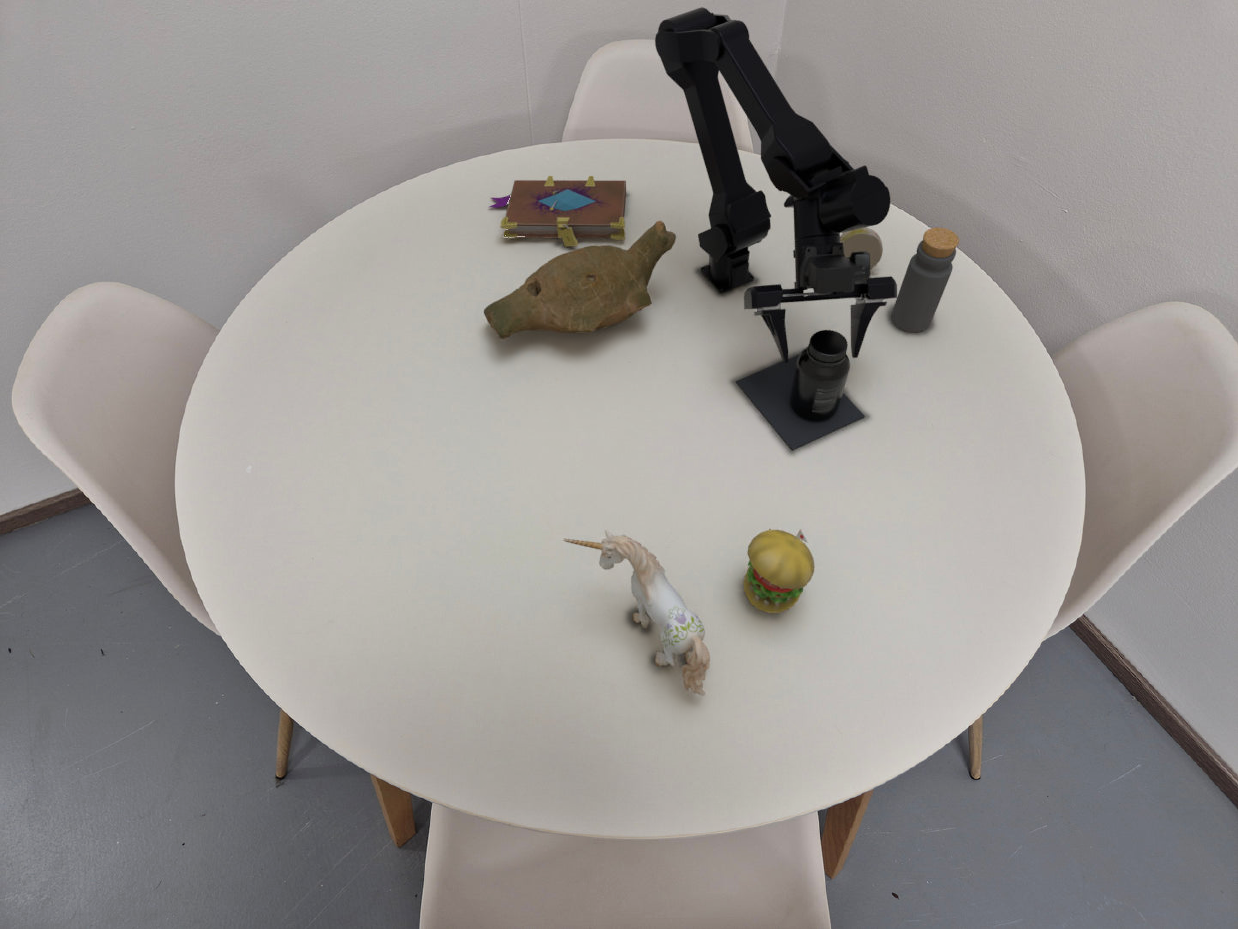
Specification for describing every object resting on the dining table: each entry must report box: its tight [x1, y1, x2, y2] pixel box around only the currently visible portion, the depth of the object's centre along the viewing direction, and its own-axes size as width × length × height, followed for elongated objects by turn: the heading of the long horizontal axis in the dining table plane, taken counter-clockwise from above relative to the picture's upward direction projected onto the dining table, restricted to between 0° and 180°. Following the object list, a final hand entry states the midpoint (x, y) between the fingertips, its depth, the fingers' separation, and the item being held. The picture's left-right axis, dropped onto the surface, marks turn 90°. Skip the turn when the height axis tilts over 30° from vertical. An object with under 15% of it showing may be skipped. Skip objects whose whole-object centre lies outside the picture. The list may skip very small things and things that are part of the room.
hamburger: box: [742, 528, 815, 614], centre depth 86 cm, size 8×7×12 cm
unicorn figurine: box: [562, 529, 711, 697], centre depth 83 cm, size 7×20×13 cm, turn 46°
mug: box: [840, 227, 884, 271], centre depth 122 cm, size 8×10×10 cm
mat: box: [735, 353, 865, 451], centre depth 107 cm, size 14×12×1 cm
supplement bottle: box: [790, 329, 851, 421], centre depth 102 cm, size 7×7×12 cm
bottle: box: [891, 227, 960, 333], centre depth 110 cm, size 6×6×15 cm
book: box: [488, 175, 627, 247], centre depth 131 cm, size 16×25×5 cm, turn 87°
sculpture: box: [483, 220, 677, 340], centre depth 115 cm, size 14×16×30 cm
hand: (820, 360), depth 101 cm, fingers open, 9 cm apart
